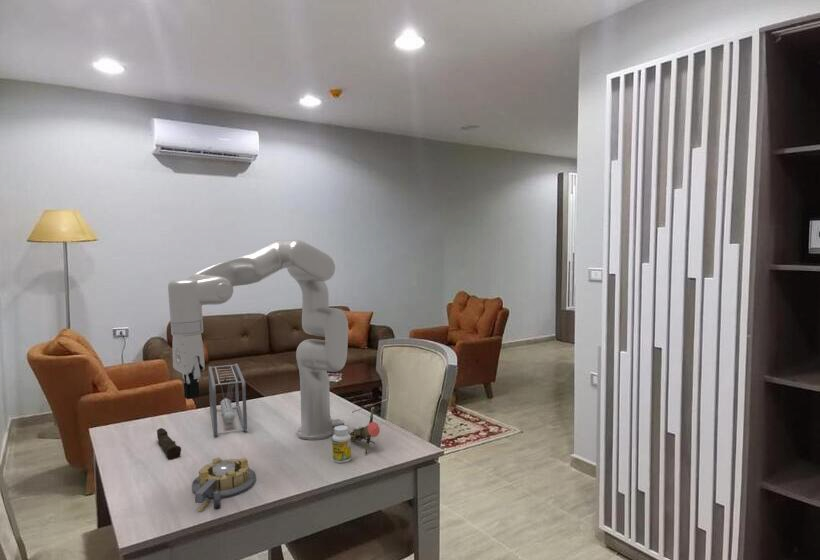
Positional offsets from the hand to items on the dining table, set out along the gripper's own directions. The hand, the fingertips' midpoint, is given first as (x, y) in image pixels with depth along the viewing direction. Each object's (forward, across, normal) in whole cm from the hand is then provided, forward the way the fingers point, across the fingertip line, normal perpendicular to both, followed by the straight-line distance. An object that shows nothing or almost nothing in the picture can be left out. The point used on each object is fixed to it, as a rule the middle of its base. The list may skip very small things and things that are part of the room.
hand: (192, 397), depth 133 cm
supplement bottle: (+25, +13, +37) cm, 47 cm away
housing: (+24, +6, +4) cm, 25 cm away
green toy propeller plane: (+26, +7, +49) cm, 56 cm away
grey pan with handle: (+23, +6, +3) cm, 24 cm away
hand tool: (+25, -32, +2) cm, 41 cm away
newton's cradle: (+26, -42, +27) cm, 56 cm away
